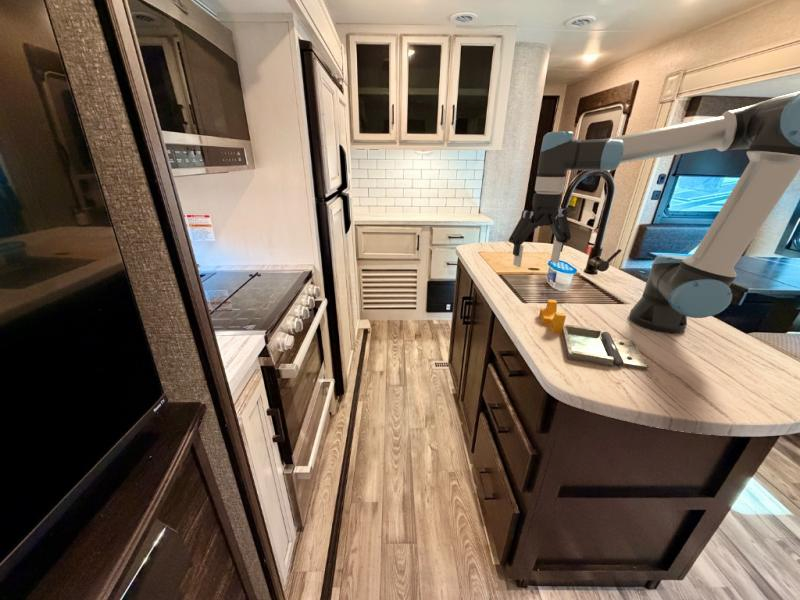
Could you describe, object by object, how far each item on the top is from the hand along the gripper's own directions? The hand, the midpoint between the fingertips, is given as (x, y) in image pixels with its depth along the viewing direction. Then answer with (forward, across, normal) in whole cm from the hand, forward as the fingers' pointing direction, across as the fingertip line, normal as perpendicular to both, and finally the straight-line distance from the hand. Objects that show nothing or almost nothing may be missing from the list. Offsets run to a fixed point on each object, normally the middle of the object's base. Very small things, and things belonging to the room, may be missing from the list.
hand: (535, 264), depth 100 cm
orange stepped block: (+20, -6, +4) cm, 22 cm away
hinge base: (+20, -11, +22) cm, 31 cm away
